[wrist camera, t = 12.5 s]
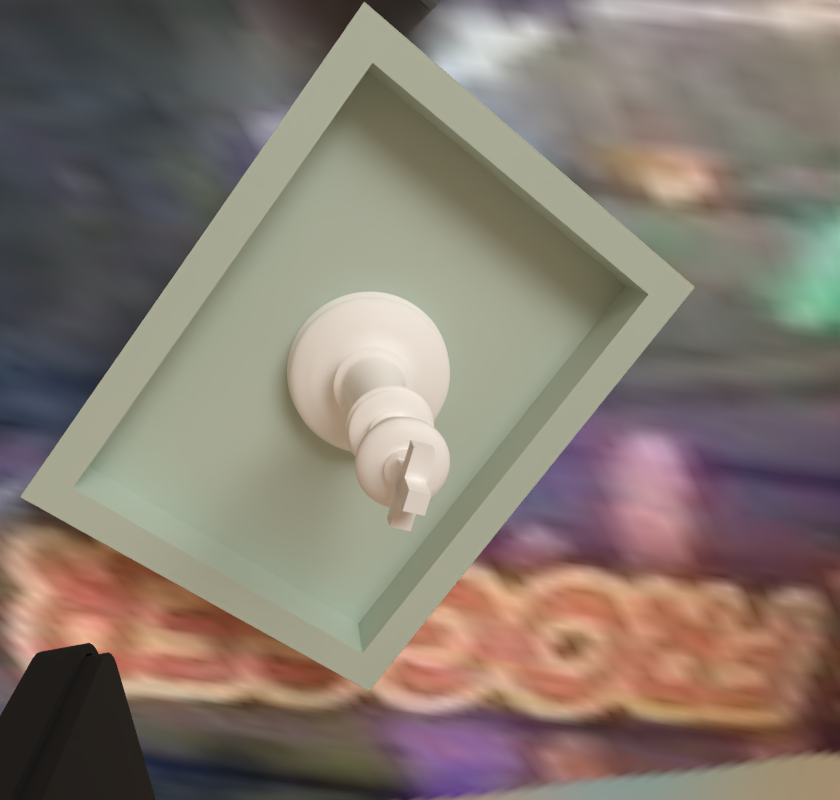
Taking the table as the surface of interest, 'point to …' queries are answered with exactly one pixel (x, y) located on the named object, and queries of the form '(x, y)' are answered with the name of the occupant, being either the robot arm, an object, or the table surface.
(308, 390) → the chess piece
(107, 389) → the tray
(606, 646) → the table surface
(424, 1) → the shallow grey bin
